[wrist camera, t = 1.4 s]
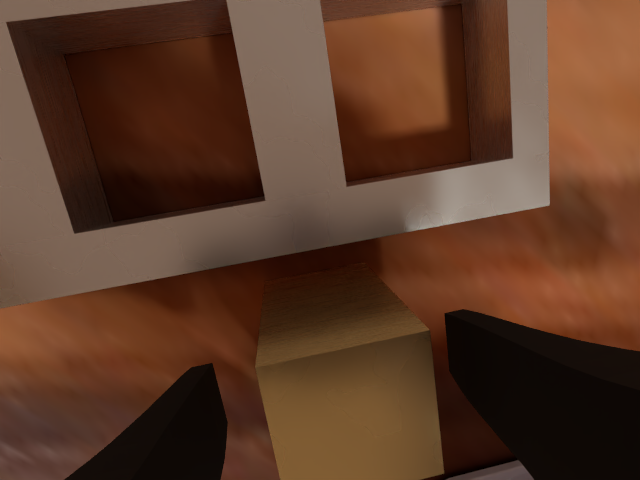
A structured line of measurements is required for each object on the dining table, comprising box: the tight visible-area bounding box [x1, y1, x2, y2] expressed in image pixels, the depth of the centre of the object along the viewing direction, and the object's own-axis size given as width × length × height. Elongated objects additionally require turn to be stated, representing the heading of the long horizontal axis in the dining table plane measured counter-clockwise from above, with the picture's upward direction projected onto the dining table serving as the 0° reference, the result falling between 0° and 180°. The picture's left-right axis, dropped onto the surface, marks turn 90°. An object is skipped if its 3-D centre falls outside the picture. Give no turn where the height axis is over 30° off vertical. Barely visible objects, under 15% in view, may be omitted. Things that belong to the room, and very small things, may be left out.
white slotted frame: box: [0, 0, 550, 308], centre depth 11 cm, size 9×24×2 cm, turn 99°
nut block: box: [255, 263, 444, 480], centre depth 11 cm, size 4×4×6 cm
